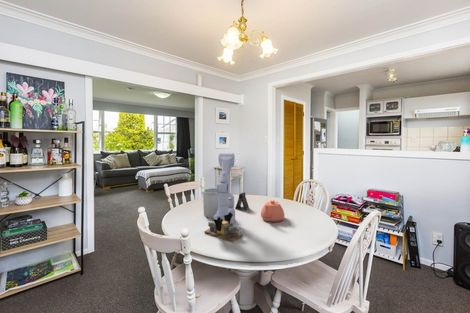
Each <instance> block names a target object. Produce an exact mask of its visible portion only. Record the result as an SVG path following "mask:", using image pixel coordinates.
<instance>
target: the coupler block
mask: <svg viewBox="0 0 470 313" xmlns="http://www.w3.org/2000/svg"><path fill="white" fill-rule="evenodd" d="M226 226H228V222H227V221H222V226H221V231H217V233H220V234H223V235H225V227H226Z"/></svg>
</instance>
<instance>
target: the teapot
mask: <svg viewBox="0 0 470 313" xmlns="http://www.w3.org/2000/svg"><path fill="white" fill-rule="evenodd" d="M260 217H261V218H262V219H263V221H266V222H272V223H278V222H281V221H283V219H284V218H285V211H284V209H283V207H282V205H281V204H280V203H279V202H278V201H275V200H273V199H272V200H270V201H267V202H265V203H264V205H263V207H262V208H261V211H260Z"/></svg>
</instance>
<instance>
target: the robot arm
mask: <svg viewBox="0 0 470 313" xmlns="http://www.w3.org/2000/svg"><path fill="white" fill-rule="evenodd" d="M235 158H236V157H235V153H219V154H218V163H219V164H218V165H219V166H220V167H221V172H219V176H218V183H217V185H216V188H217V197H218V211H217V213H216V214H215V215H214V217H213V218H212V220H213V222H215V224H216V228H217V231H221V226H222V221H227V222H228V225H230V224H233V223H235V222H236V221H237V220H236V209H235V196H234V194H232V193H231V170H232V168H233V167H235V162H236V161H235V160H236V159H235Z"/></svg>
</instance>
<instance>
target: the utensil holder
mask: <svg viewBox="0 0 470 313" xmlns="http://www.w3.org/2000/svg"><path fill="white" fill-rule="evenodd" d="M202 198H203V200H202V202H203V203H202V204H203V215H204V217H207V218H212V219H213V218H214V215H215V214H216V213H217V211H218V197H217V187H207V188H203V189H202Z"/></svg>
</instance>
